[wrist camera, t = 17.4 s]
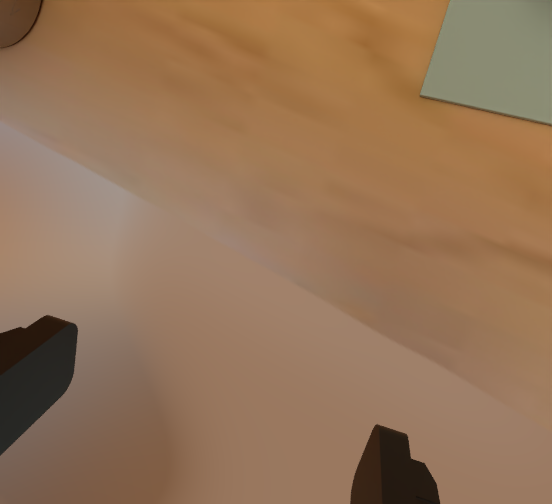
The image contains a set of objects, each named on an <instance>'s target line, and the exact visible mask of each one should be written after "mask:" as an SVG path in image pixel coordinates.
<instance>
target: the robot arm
mask: <svg viewBox="0 0 552 504" xmlns="http://www.w3.org/2000/svg"><path fill="white" fill-rule="evenodd" d="M40 2H41V0H0V47H6V46H10V45H12V44H14V43H16V42H17V41H19V40H20V39H21V38H22V37H23V36H24V35H25V34H26V33H27V32H28V31H29V29H30V28H31V26H32V25H33V23H34V21H35V19H36V16H37V14H38V11H39V7H40ZM77 334H78V328H77V326H76V325H75V324H74V323H70V322H68V321H65V320H62V319H59V318H56V317H53V316H49V315H46V316H44V317H42V318H40V319H39V320H37V321H36V322H34V323H33V324H31V325H30V326H28V327H27V328H22V327H19V328H16V329H12V330H10V331H7V332H3V333H0V455H1V454H2V453H3V452H4V451H5V450H6V449H7V448H8V447H10V446H11V445H12V444H13V443H14V442H15V441H16V440H17V439H18V438H19V437H20V436H21V435H22V434H23V433H24V432H25V431H26V430H27V429H28V428H29V427H30V426H31V425H32V424H33V423H34V422H35V421H36V420H37V419H38V418H40V417H41V416H42V414H44V413H45V412H46V411H47V410H48V409H49V408H50V407H51V406H52V405H53V404H54V403H55V402H56V401H57V400H58V399H59V398H60V397H61V396H62V395H63V394H64V393H65V391H66V390H67V388H68V387H69V384H70V383H71V380H72V377H73V374H74V366H75V365H74V364H75V355H76V344H77ZM350 504H440V500H439V495H438V489H437V484H436V482H435V480H434V479H433V477H432V475H431V474H430V472H429V470H428V468H427V467H426V465H425V463H422V462H419V461H416V460H413V459H411V457H410V449H409V441H408V436H407V434H405V433H402V432H398V431H396V430H393V429H390V428H387V427H384V426H380V425H375V427H374V428H373V430H372V433H371V435H370V438H369V440H368V442H367V445H366V448H365V450H364V453H363V455H362V458H361V460H360V462H359V465H358V467H357V470H356V473H355V476H354V480H353V485H352V490H351V503H350Z"/></svg>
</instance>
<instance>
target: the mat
mask: <svg viewBox="0 0 552 504" xmlns="http://www.w3.org/2000/svg"><path fill="white" fill-rule="evenodd" d="M420 97H425V98H429V99H434V100H438V101H443V102H447V103H452V104H456V105H461V106H465V107H470V108H474V109H479V110H483V111H488V112H492V113H497V114H501V115H506V116H510V117H515V118H519V119H524V120H528V121H533V122H537V123H542V124H546V125H550V126H552V0H450V3H449V6H448V9H447V12H446V15H445V18H444V21H443V24H442V28H441V31H440V34H439V37H438V40H437V43H436V46H435V49H434V52H433V55H432V59H431V62H430V65H429V68H428V71H427V74H426V77H425V80H424V83H423V86H422V90H421V93H420Z"/></svg>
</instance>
